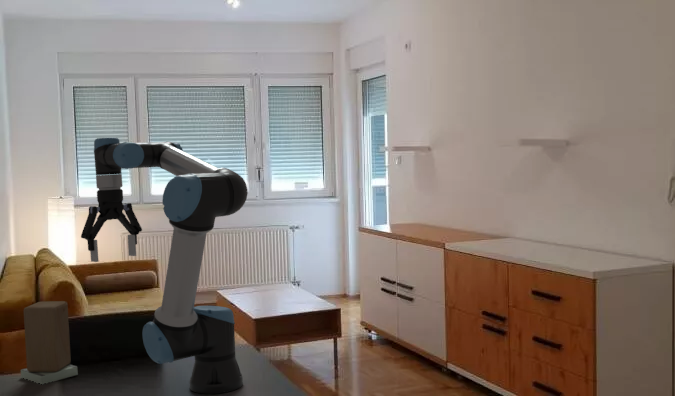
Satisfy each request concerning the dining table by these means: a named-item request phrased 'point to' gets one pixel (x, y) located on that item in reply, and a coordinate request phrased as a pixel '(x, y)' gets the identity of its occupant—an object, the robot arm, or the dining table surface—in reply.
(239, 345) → the dining table surface
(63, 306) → the wooden block
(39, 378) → the dock
